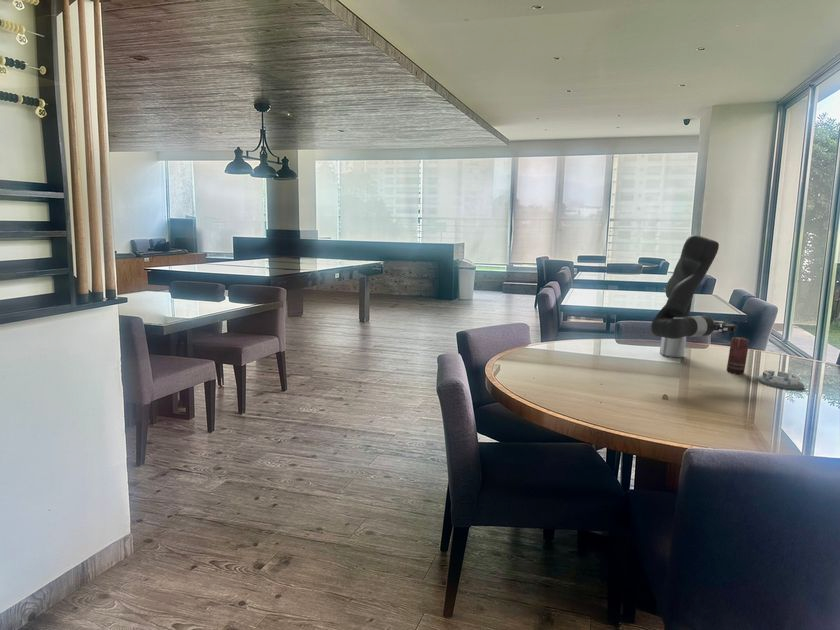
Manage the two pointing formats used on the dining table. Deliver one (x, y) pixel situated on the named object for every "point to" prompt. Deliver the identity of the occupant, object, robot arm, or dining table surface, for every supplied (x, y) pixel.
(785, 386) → the slate plate
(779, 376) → the ring collar
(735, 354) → the can
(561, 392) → the dining table surface
